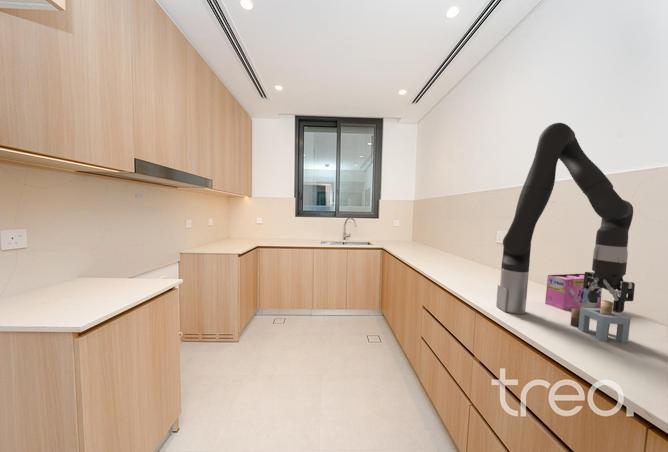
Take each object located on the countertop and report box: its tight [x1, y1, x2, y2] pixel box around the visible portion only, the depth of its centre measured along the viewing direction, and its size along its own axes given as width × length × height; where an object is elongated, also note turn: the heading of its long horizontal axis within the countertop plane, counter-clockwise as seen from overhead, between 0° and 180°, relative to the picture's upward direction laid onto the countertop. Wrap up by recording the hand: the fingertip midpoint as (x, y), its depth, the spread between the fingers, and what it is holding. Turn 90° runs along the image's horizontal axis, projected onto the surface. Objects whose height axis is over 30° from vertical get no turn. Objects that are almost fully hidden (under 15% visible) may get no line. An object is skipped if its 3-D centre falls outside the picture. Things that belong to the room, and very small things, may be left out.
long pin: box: [599, 299, 614, 339], centre depth 82 cm, size 3×3×12 cm
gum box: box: [544, 273, 603, 311], centre depth 111 cm, size 24×8×14 cm, turn 104°
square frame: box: [577, 307, 631, 344], centre depth 82 cm, size 8×8×8 cm
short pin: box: [570, 309, 580, 328], centre depth 90 cm, size 3×3×6 cm
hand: (604, 307), depth 82 cm, fingers open, 7 cm apart
